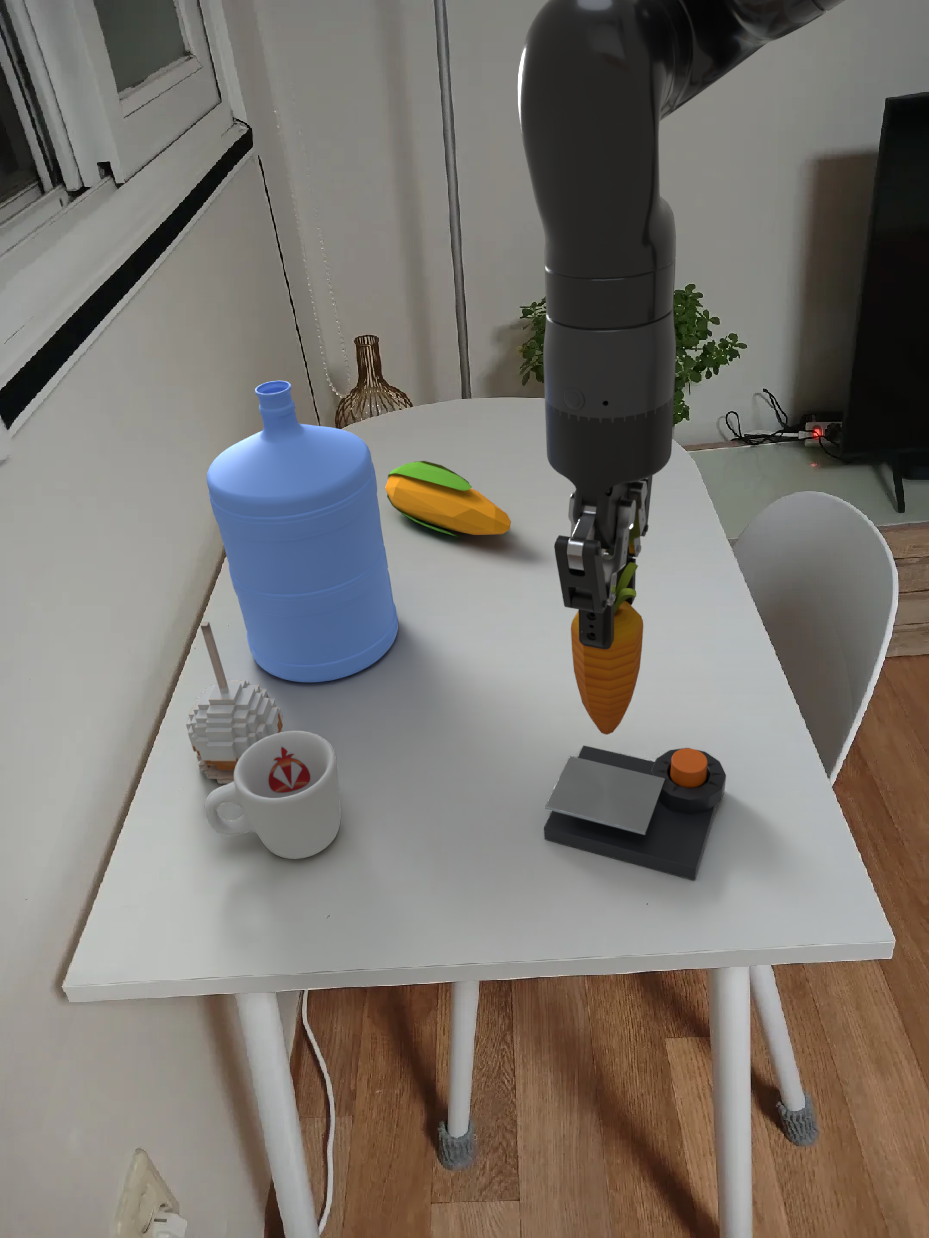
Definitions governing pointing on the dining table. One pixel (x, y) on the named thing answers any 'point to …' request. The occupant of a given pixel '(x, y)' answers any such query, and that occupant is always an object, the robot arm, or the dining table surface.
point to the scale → (672, 826)
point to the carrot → (610, 662)
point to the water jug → (304, 544)
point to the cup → (283, 794)
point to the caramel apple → (228, 719)
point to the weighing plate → (606, 794)
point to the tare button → (688, 768)
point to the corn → (443, 500)
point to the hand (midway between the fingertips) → (607, 622)
